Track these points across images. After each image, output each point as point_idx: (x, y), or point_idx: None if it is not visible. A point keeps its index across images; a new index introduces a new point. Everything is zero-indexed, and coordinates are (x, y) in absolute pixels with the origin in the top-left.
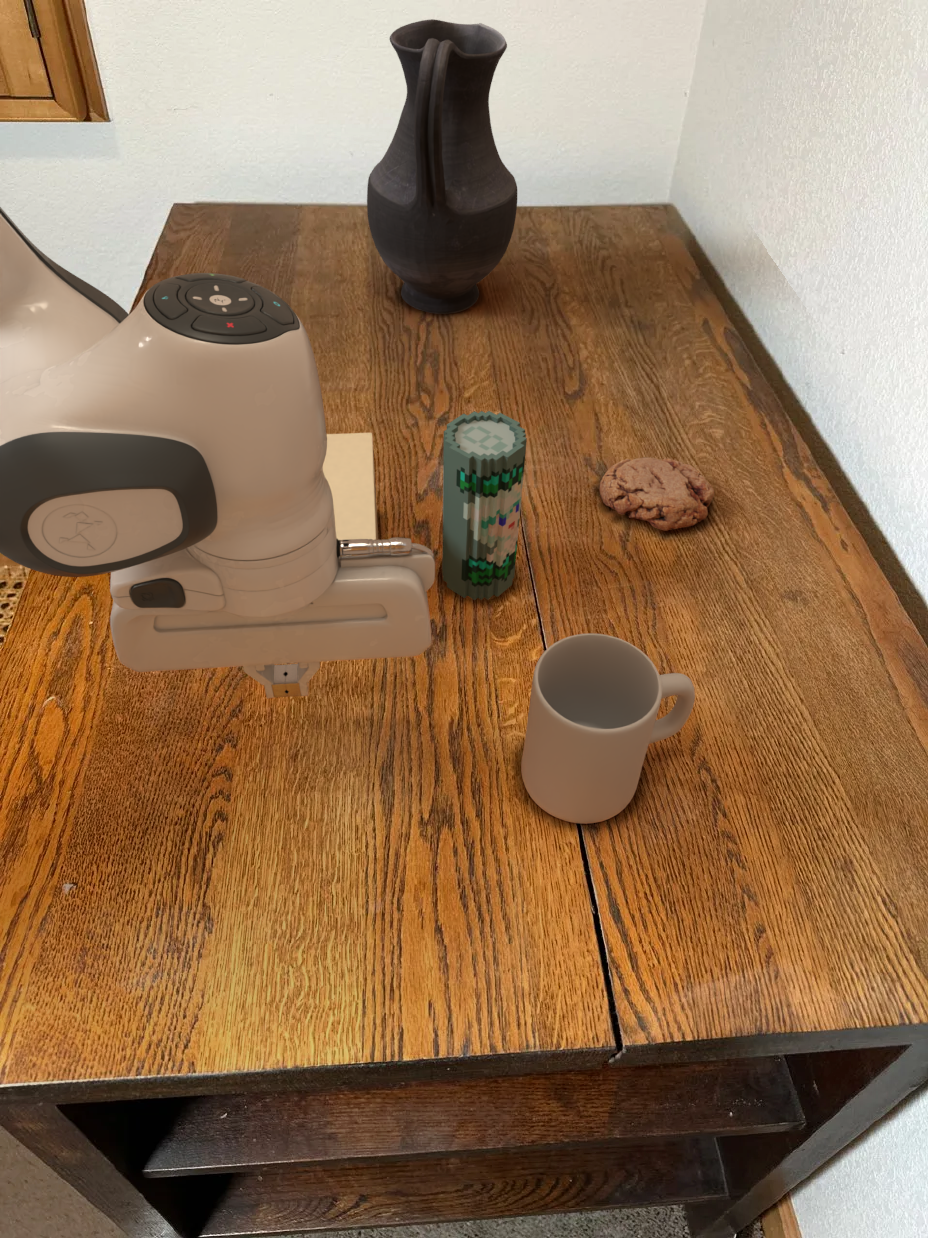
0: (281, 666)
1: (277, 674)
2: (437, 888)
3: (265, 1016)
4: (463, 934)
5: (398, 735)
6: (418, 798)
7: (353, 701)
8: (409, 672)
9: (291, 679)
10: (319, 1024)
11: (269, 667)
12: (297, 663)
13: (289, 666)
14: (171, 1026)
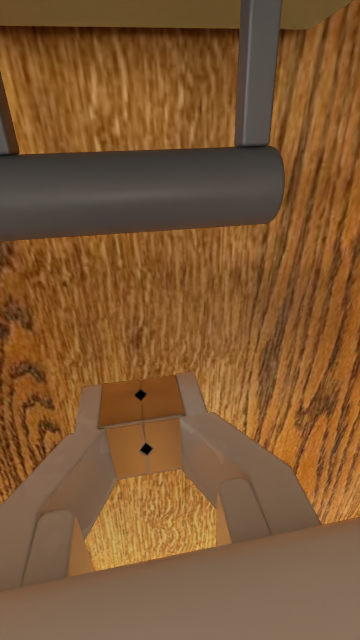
0: (129, 431)
1: (122, 454)
2: (298, 466)
3: (145, 554)
4: (310, 492)
5: (297, 298)
6: (302, 386)
7: (232, 227)
8: (348, 150)
9: (165, 459)
10: (188, 551)
11: (96, 468)
12: (179, 418)
13: (154, 424)
14: None
